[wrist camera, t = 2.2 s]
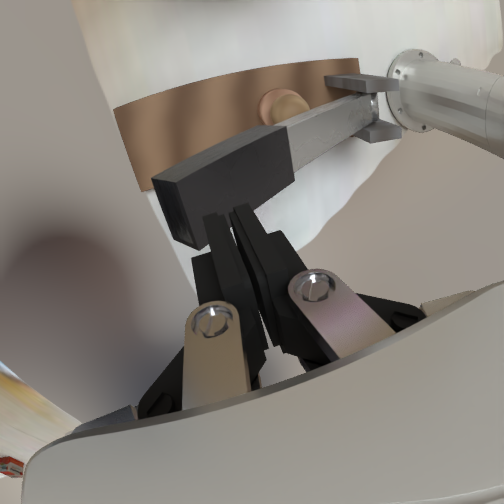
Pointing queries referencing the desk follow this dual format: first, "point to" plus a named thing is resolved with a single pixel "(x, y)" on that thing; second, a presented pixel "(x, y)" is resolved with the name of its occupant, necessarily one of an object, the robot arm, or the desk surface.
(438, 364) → the robot arm
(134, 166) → the press base
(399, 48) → the desk surface
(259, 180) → the lever
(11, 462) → the medicine box
